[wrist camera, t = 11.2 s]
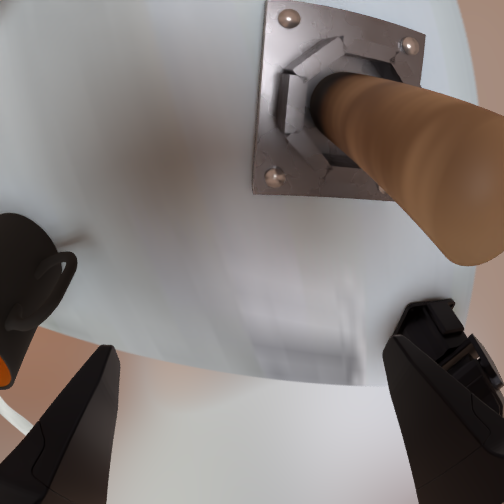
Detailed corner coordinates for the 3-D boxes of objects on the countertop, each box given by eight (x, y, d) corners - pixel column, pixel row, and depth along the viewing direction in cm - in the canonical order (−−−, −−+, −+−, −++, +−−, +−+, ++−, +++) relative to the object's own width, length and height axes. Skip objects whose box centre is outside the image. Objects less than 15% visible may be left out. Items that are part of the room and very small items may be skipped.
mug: (115, 279, 23) (80, 392, 15) (15, 300, 24) (-28, 388, 15) (71, 184, 19) (-9, 280, 10) (-28, 227, 19) (-95, 307, 10)
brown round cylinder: (365, 150, 18) (498, 274, 8) (300, 130, 18) (406, 253, 7) (387, 86, 16) (555, 156, 6) (321, 61, 15) (475, 88, 5)
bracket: (389, 195, 21) (412, 218, 19) (251, 188, 20) (258, 212, 17) (417, 34, 15) (449, 35, 12) (265, 0, 14) (275, -12, 11)
